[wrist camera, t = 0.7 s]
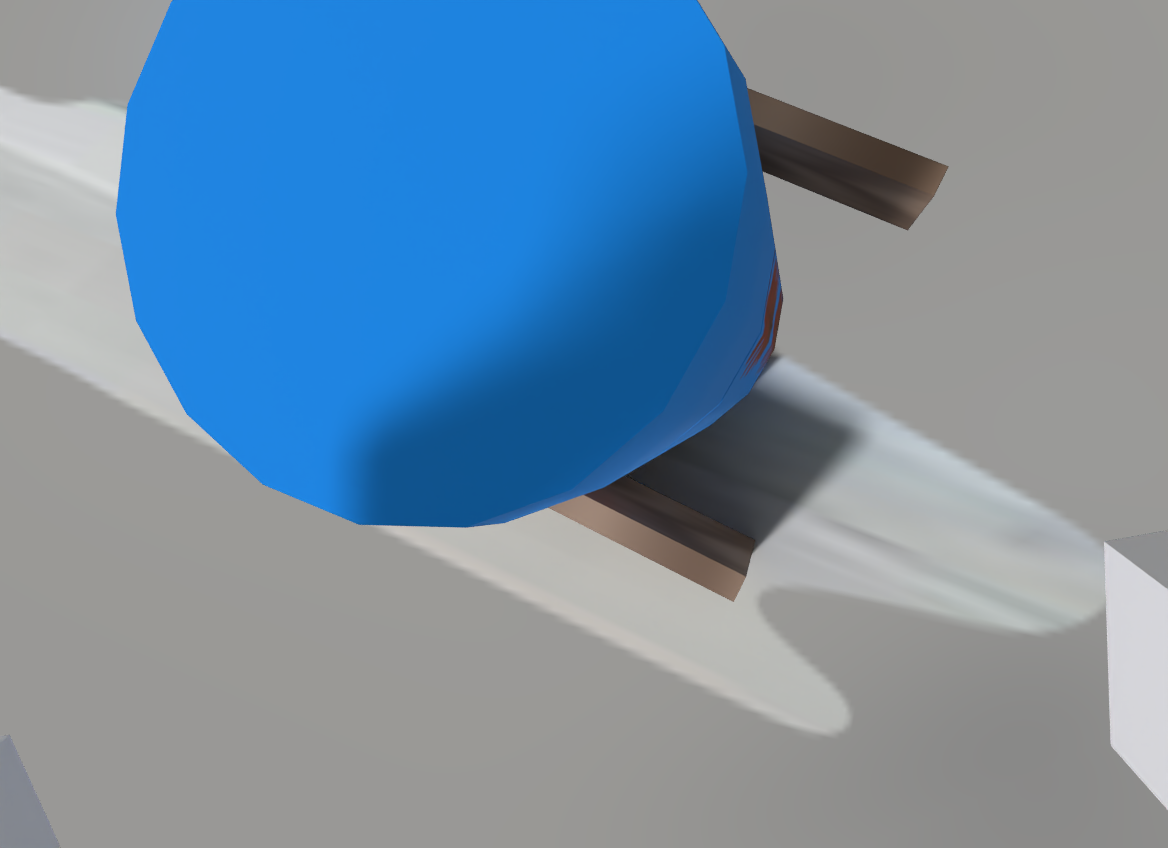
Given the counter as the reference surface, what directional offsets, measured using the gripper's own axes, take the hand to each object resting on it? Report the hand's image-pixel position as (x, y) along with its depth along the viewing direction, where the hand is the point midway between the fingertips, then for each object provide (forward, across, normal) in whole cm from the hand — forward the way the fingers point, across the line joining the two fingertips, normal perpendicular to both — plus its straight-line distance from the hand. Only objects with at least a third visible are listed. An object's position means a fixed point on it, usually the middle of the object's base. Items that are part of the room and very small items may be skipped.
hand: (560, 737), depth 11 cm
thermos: (+29, -3, 0) cm, 29 cm away
